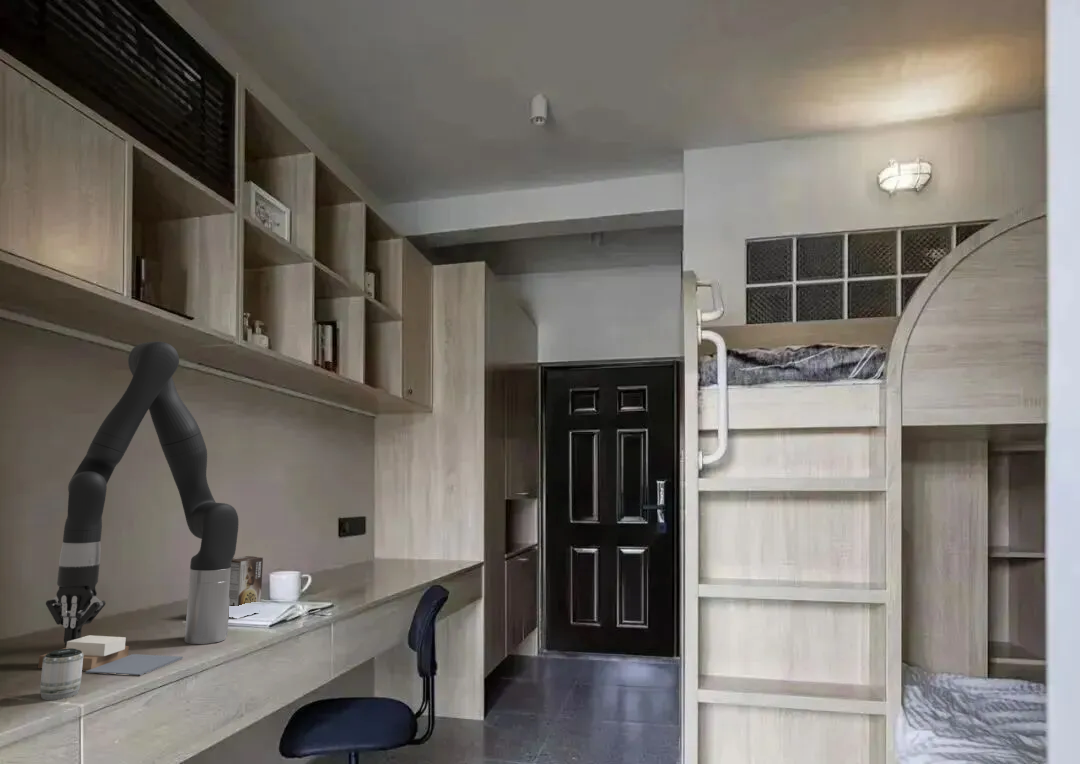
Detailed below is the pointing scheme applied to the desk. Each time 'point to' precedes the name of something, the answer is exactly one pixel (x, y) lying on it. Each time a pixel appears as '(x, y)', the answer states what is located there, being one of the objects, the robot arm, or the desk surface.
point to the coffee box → (245, 580)
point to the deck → (95, 659)
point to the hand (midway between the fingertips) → (71, 645)
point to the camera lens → (61, 674)
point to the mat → (135, 664)
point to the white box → (97, 645)
